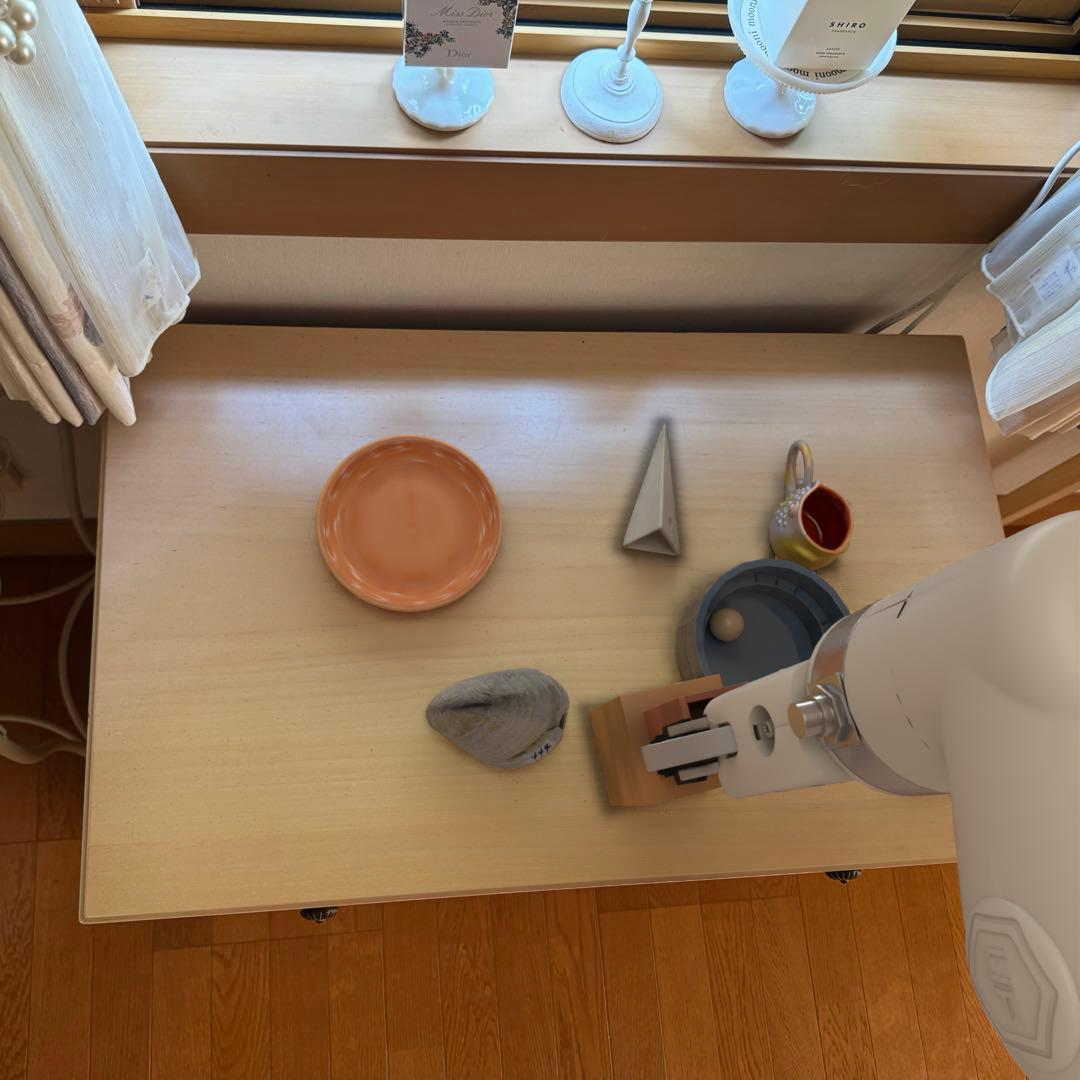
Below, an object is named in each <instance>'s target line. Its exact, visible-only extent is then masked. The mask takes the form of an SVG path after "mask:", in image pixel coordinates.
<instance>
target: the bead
mask: <svg viewBox="0 0 1080 1080" xmlns="http://www.w3.org/2000/svg"><path fill="white" fill-rule="evenodd" d="M743 629H744V620H743V618H742V616H741V614H740V613H739V612H738V611H736V610H735V609H733V608H728V607H725V608H721V609H718V610H717V611H715V612H714V613H713V615H712V616H711V619H710V630H711V632H712V634H713V635H714V636H715V637H716V638H718V639H719V640H722V641H733V640H735V639H737V638H738V637H739V636H740V635H741V634H742V632H743Z"/></svg>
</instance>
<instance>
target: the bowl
mask: <svg viewBox="0 0 1080 1080" xmlns="http://www.w3.org/2000/svg"><path fill="white" fill-rule="evenodd" d="M725 607H728V608H733V609H735V610H736V611H738V612H739V613H740V614H741V616H742V618H743V620H744V629H743V632H742V634H741V635H740V636H739V637H738V638H737V639H735V640H733V641H722V640H719V639H718V638H716V637H715V636H714V635H713V634H712V632H711V630H710V619H711V616H712V615H713V613H714V612H715V611H717V610H718V609H721V608H725ZM850 614H852V613H851V612H850V610H849V608H848V606H847V605H846V604H845V602H844V600H843V599H842V598H841V596H840V594H839V593H838V592H837V590H836V589H835V588H834V587H833V586H831V585H830V584H829V583H828V582H827V581H826V580H824V578H822V576H821V575H819V574H818V573H817V572H814V570H809V569H807V568H804V567H802V566H800V565H798V564H796V563H793V562H791V561H785V560H777V559H775V558H769V557H765V558H764V557H763V558H759V559H754V560H749V561H744V562H743V561H742V562H740V563H739V564H737V565H735V566H733V567H732V568H730V569H728V570H727V571H725V572H723V573H721V574H720V575H718V576H717V577H716V578H715V579H714V580H712V581H710V583H708V584H707V585H705V586H703V588H701V589H700V590H699V591H698V593H697V594H696V595H695V596H694V597H693V599H692V600H691V601H690V602H689V603H688V605H687V606H686V607H685V609H684V612H683V615H682V617H681V620H680V623H679V625H678V627H677V637H676V638H677V639H676V658H677V663H678V667H679V670H680V673H681V678H682V681H683V682H685V681H689V680H694V679H698V678H703V677H707V676H712V675H717V674H720V678H721V681H722V685H723V687H727V686H731V685H736V684H740V683H745V682H752V681H755V680H758V679H760V678H763V677H765V676H768V675H770V674H773V673H775V672H778V671H779V670H781V669H786V668H788V667H791V666H793V665H796V664H799V663H801V662H804V661H807V660H809V659H810V658H811V656H812V653H813V651H814V649H815V647H816V645H817V644H818V642H819V641H820V639H821V638H822V636H823V635H824V634H825V633H826V632H827V631H828V629H829V628H830V627H831V626H832V625H834V624H835V623H836V622H838V621H839V620H840V619H842V618H844V617H846V616H848V615H850Z"/></svg>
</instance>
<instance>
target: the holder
mask: <svg viewBox="0 0 1080 1080" xmlns="http://www.w3.org/2000/svg"><path fill="white" fill-rule="evenodd" d="M748 683H750V682H745V683H740V684H736V685H731V686H727V687H723V685H722V681H721V678H720V674H717V675H712V676H707V677H703V678H698V679H694V680H689V681H685V682H684V681H681V682H676V683H672V684H667V685H662V686H657V687H653V688H648V689H645V690H639V691H634V692H631V693H625V694H622V695H618V696H616V697H615V698H613V699H611V700H609V701H607V702H605V703H603V704H601V705H599V706H598V707H596V708H594V709H592V710H590V711H589V712H588V716H589V720H590V724H591V728H592V733H593V737H594V741H595V746H596V749H597V753H598V758H599V762H600V766H601V770H602V775H603V779H604V784H605V788H606V791H607V796H608V801H609V804H610V807H643V806H644V807H647V806H652V805H655V804H659V803H664V802H667V801H671V800H676V799H680V798H684V797H688V796H693V795H696V794H700V793H705V792H709V791H712V790H713V791H714V790H716V789H720V788H722V785H721V783H720V780H719V777H718V773H716V774H711V775H708V777H706V778H707V780H705V781H701V782H696V783H690V784H683V785H677V784H676V782H675V779H674V776H671V777H667V778H665V776H664V775H661V774H660V775H658V774H657V771H653V772H648V773H647V771H646V767H645V763H644V758H643V754H642V750H641V747H643V746H647V745H650V742H651V741H652V740H653V739H655V736H657V735H661V734H663V732H662V728H663V727H664V726H667V725H669V724H672V723H674V722H677V721H679V720H682V719H687V718H691V720H696V719H700V718H704V717H707V715H703V713H704V710H705V708H706V706H707V705H708V703H709V702H710V701H711V700H713V699H714V698H716V697H718V696H720V695H722V694H724V693H726V692H729V691H731V690H733V689H736V688H738V687H740V686H743V685H745V684H748ZM705 761H706V764H711V763H715V762H718V759H717V757H713V758H708V759H705Z"/></svg>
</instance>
